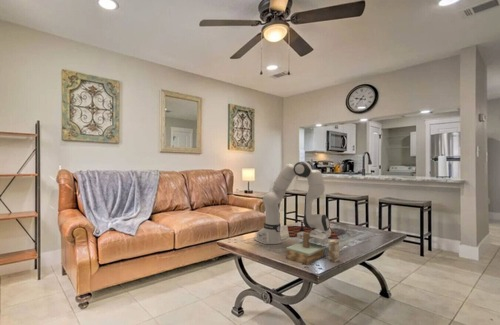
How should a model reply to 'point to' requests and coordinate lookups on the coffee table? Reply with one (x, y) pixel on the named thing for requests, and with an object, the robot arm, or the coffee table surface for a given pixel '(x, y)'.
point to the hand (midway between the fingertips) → (305, 239)
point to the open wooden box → (304, 256)
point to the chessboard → (296, 229)
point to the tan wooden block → (333, 250)
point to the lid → (306, 246)
